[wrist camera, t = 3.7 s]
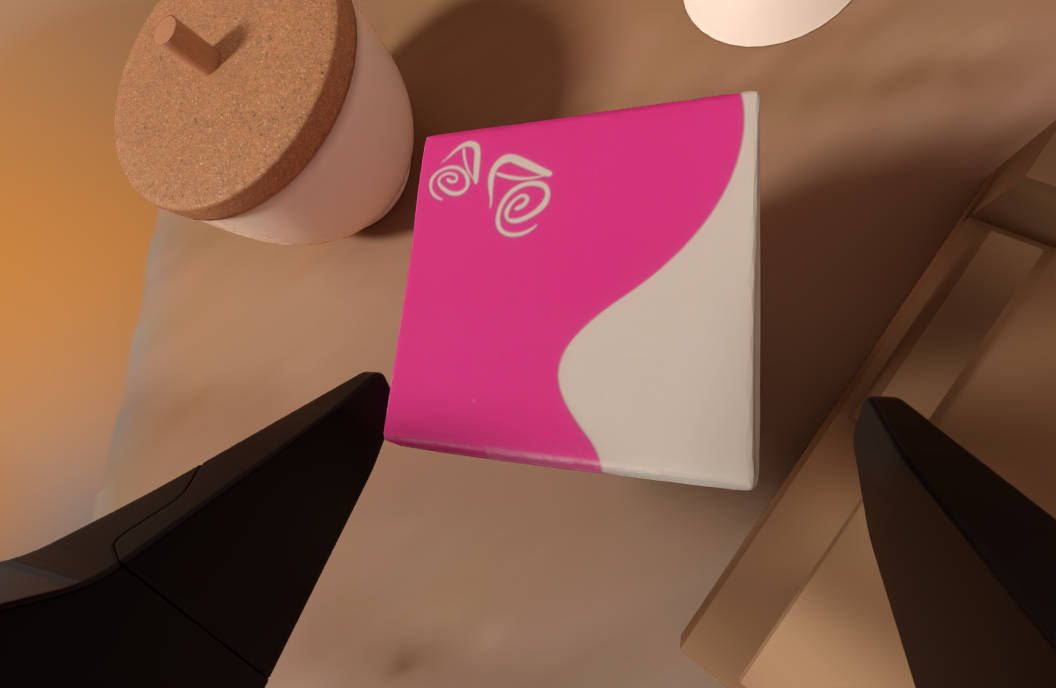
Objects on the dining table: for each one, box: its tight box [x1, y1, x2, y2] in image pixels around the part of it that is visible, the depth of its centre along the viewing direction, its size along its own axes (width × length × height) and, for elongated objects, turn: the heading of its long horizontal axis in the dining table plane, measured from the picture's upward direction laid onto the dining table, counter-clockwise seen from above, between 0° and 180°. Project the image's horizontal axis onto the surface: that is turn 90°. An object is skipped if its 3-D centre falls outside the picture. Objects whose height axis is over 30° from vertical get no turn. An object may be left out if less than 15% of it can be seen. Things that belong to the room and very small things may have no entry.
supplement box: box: [384, 91, 760, 490], centre depth 12 cm, size 6×6×12 cm
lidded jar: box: [115, 0, 414, 246], centre depth 19 cm, size 11×11×9 cm
